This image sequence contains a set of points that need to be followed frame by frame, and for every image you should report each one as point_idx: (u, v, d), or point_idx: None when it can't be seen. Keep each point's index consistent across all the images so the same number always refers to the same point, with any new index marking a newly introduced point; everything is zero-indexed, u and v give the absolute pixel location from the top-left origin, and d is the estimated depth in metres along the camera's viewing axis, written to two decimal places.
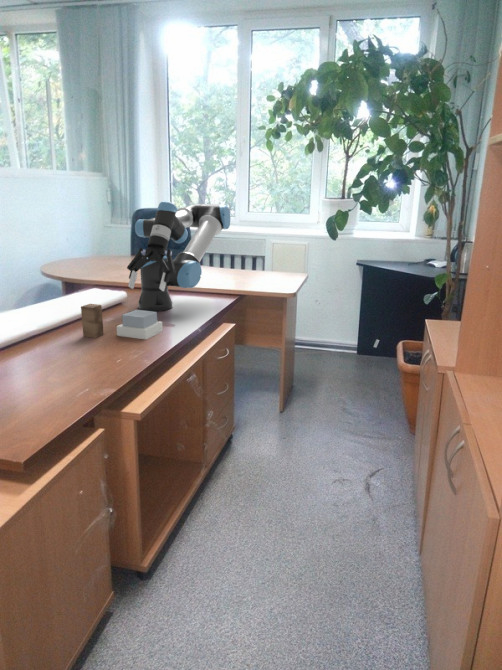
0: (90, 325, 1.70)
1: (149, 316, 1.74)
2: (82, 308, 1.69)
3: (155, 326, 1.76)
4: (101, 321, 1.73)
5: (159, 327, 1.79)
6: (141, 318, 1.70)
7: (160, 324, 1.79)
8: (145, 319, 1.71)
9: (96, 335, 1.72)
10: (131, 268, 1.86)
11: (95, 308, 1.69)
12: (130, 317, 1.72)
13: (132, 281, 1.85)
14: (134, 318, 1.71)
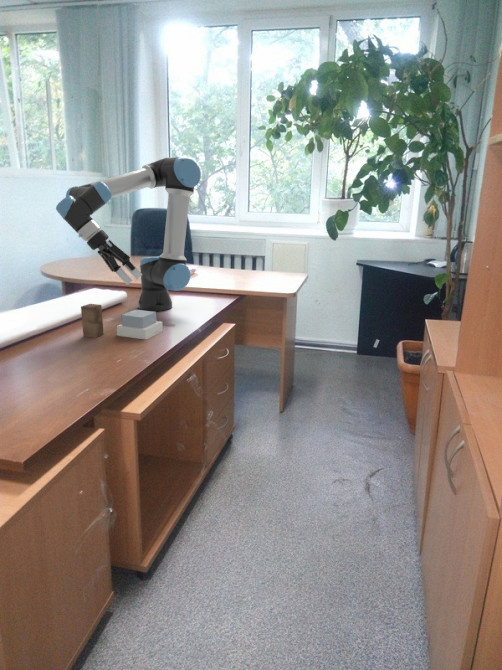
0: (90, 325, 1.70)
1: (148, 316, 1.74)
2: (82, 308, 1.69)
3: (155, 326, 1.76)
4: (101, 321, 1.73)
5: (159, 327, 1.79)
6: (140, 318, 1.70)
7: (160, 324, 1.79)
8: (144, 319, 1.71)
9: (96, 335, 1.72)
10: None
11: (95, 308, 1.69)
12: (129, 317, 1.72)
13: (125, 278, 1.83)
14: (133, 318, 1.71)
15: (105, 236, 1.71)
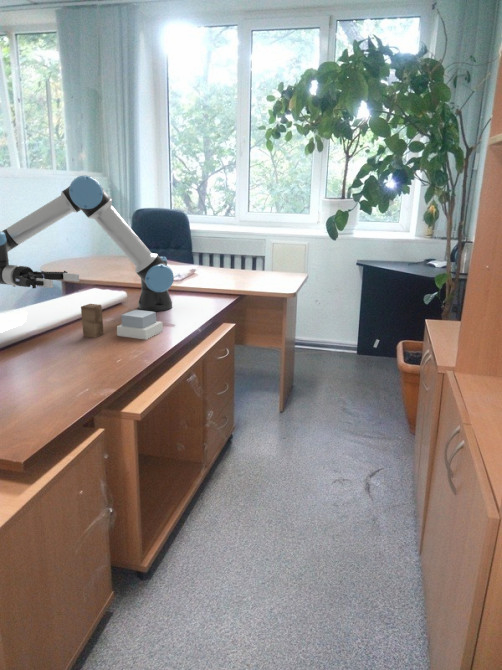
0: (90, 325, 1.70)
1: (148, 316, 1.74)
2: (82, 308, 1.69)
3: (155, 326, 1.76)
4: (101, 321, 1.73)
5: (159, 327, 1.79)
6: (140, 318, 1.71)
7: (160, 324, 1.79)
8: (144, 319, 1.72)
9: (96, 335, 1.72)
10: (64, 279, 1.81)
11: (95, 308, 1.69)
12: (129, 317, 1.72)
13: (72, 278, 1.78)
14: (133, 318, 1.72)
15: (18, 272, 1.74)
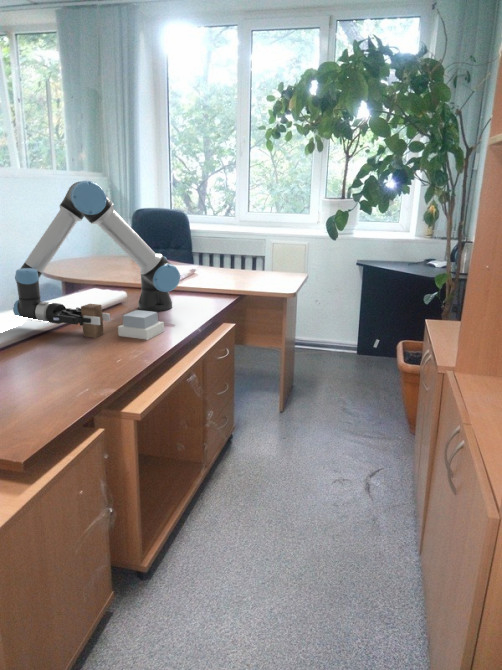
0: (90, 325, 1.70)
1: (150, 316, 1.74)
2: (82, 308, 1.69)
3: (157, 326, 1.76)
4: (101, 321, 1.73)
5: (161, 327, 1.79)
6: (142, 318, 1.70)
7: (162, 324, 1.79)
8: (146, 319, 1.71)
9: (96, 335, 1.72)
10: None
11: (95, 307, 1.69)
12: (131, 317, 1.72)
13: (103, 318, 1.74)
14: (135, 318, 1.71)
15: (51, 310, 1.74)
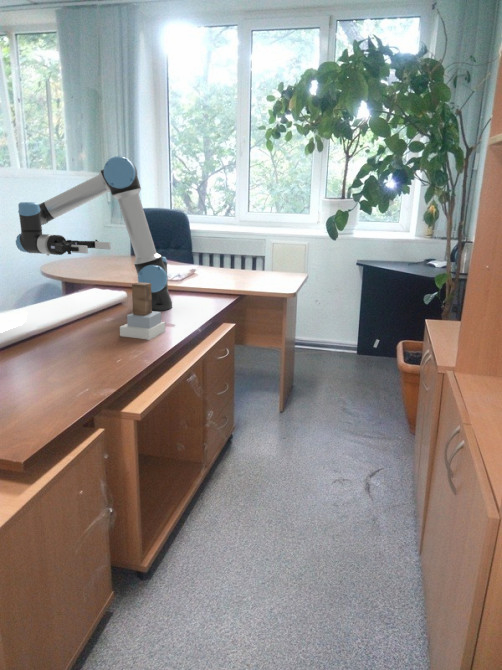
0: (141, 302, 1.72)
1: (154, 316, 1.74)
2: (133, 286, 1.71)
3: (158, 326, 1.76)
4: (150, 299, 1.75)
5: (162, 327, 1.79)
6: (147, 318, 1.71)
7: (163, 324, 1.79)
8: (151, 319, 1.72)
9: (146, 313, 1.73)
10: None
11: (146, 285, 1.72)
12: (135, 317, 1.72)
13: (104, 246, 1.85)
14: (139, 318, 1.72)
15: (52, 240, 1.81)
